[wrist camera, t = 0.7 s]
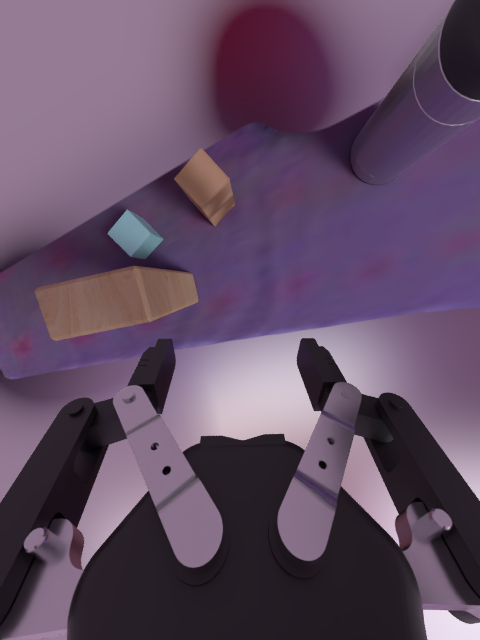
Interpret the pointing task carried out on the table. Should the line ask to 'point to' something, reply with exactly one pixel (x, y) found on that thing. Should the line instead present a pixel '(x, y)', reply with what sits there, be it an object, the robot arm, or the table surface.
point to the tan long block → (206, 187)
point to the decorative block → (113, 300)
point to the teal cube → (135, 235)
